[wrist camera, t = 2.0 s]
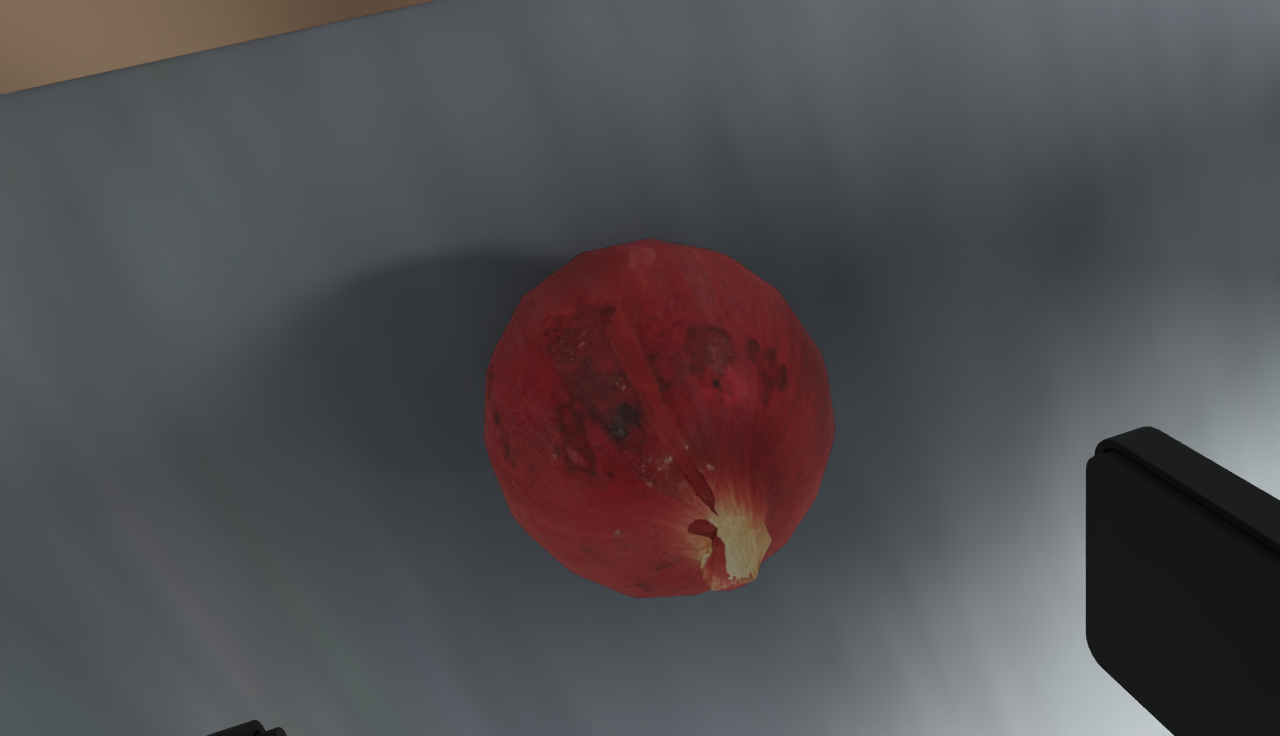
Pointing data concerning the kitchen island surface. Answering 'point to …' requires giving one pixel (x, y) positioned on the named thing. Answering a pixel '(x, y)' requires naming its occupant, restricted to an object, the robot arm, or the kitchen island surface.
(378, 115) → the kitchen island surface
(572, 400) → the red round fruit
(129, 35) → the cutting board
